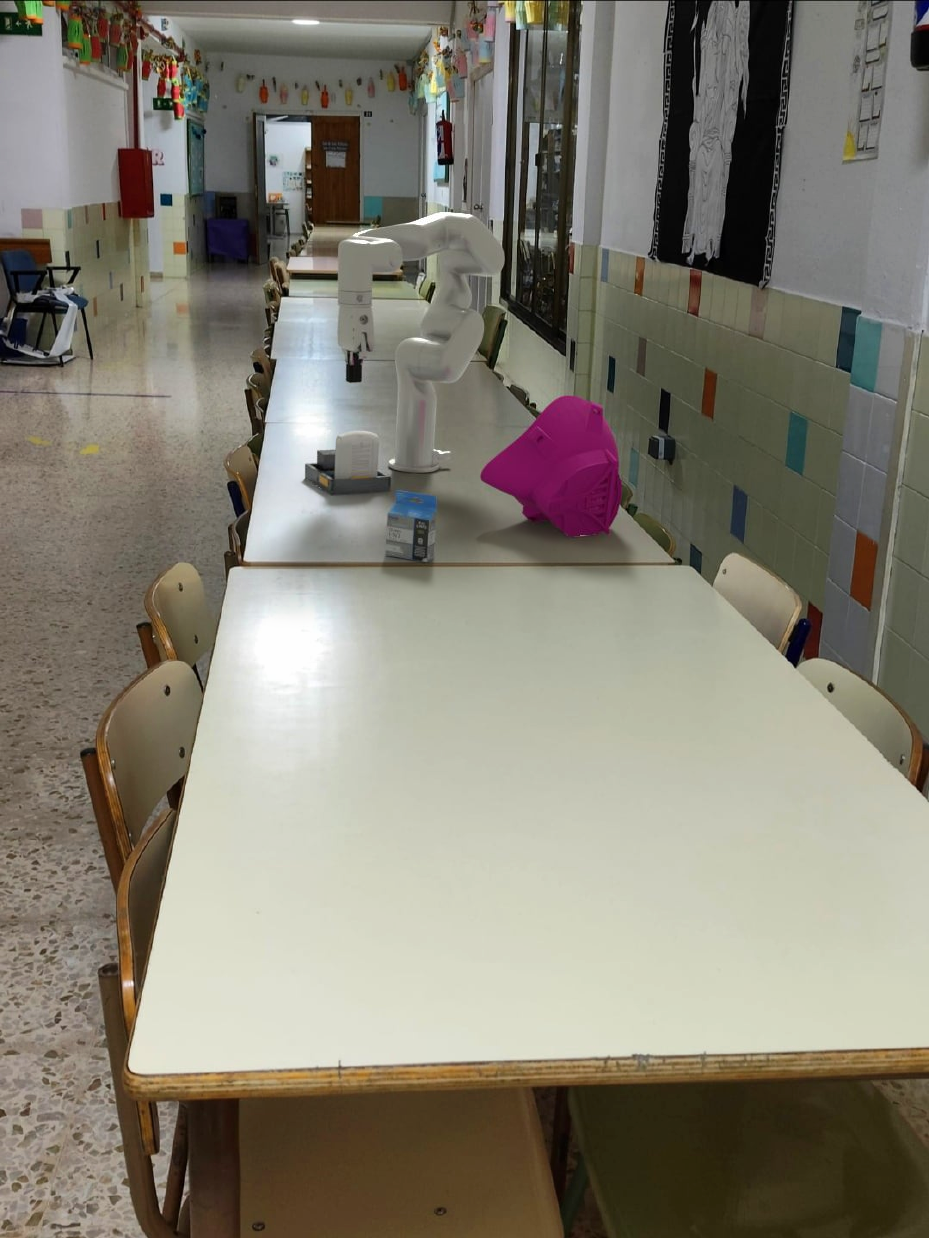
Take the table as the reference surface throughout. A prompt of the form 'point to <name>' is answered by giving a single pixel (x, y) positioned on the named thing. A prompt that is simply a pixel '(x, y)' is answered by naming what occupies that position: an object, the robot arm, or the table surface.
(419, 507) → the label tape box
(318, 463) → the tray
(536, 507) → the face mask
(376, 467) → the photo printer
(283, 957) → the table surface
